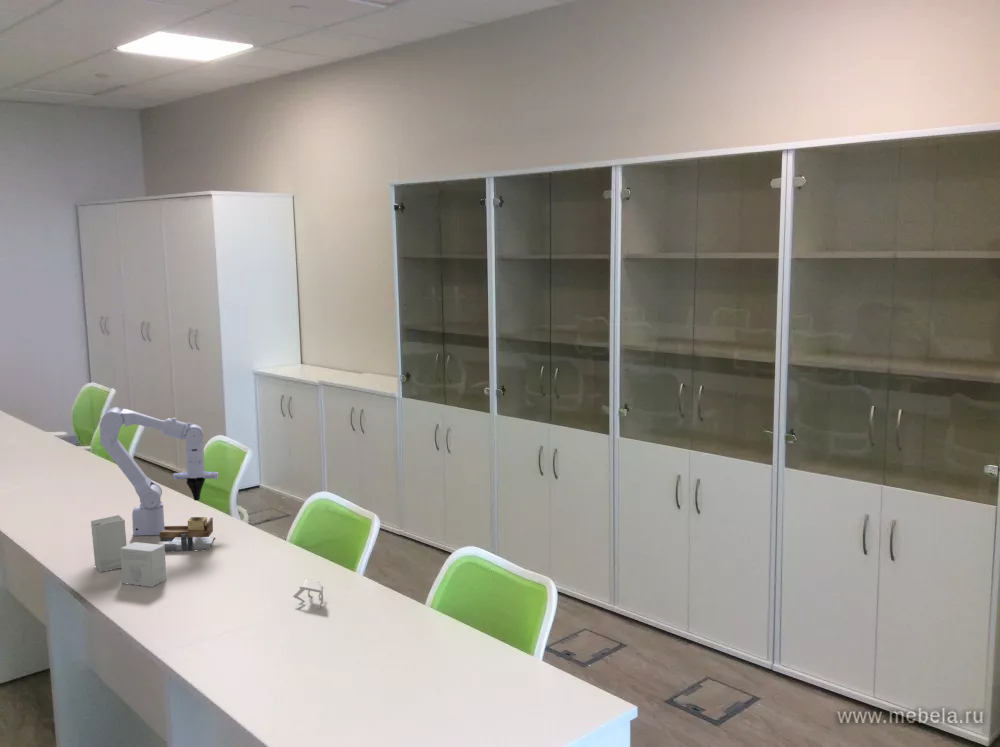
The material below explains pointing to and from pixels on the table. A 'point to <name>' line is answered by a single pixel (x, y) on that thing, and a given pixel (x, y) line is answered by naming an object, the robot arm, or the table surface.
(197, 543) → the pivot stand
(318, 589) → the origami figure
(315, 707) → the table surface
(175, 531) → the balance beam
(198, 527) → the block
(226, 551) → the table surface
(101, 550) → the skincare box
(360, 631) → the table surface
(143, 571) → the skincare box
